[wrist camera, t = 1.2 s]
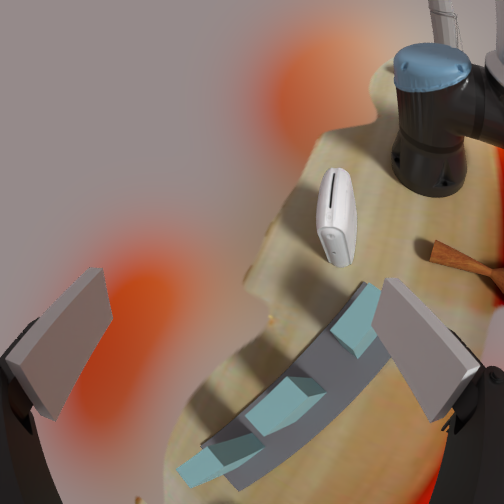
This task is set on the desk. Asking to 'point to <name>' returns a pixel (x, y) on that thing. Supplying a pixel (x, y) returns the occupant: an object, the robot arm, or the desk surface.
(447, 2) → the water bottle
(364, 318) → the tile
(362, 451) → the desk surface
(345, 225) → the photo printer
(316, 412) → the mat
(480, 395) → the robot arm
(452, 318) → the desk surface
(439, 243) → the kendama
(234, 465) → the tile
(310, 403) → the tile
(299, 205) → the desk surface
